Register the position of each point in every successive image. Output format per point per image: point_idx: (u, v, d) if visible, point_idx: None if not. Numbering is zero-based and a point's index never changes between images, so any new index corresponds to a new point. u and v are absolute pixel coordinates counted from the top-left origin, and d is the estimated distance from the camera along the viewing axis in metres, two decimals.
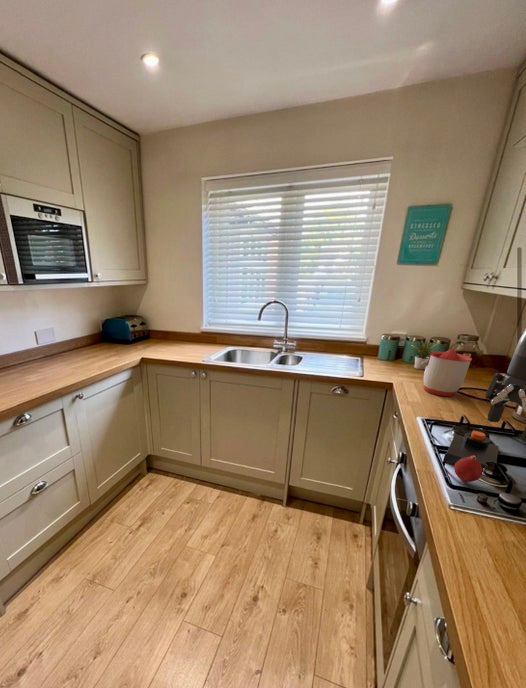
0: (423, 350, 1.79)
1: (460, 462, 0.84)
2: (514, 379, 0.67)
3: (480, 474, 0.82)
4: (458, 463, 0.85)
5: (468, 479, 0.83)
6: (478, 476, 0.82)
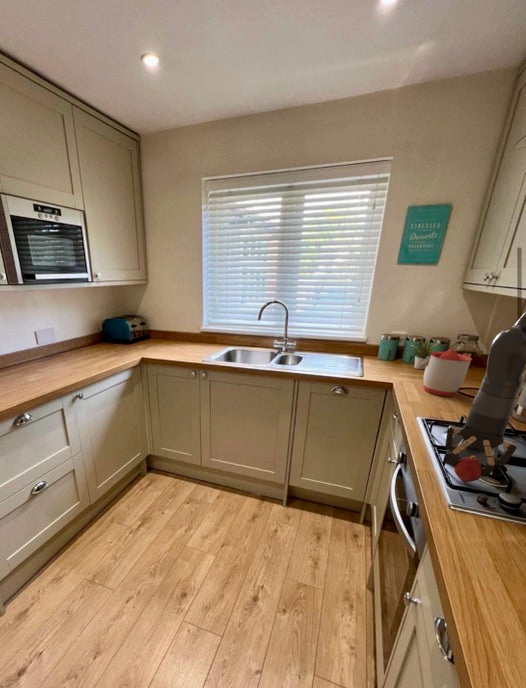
0: (423, 350, 1.79)
1: (460, 462, 0.84)
2: (472, 430, 0.81)
3: (480, 474, 0.82)
4: (458, 463, 0.85)
5: (468, 479, 0.83)
6: (478, 476, 0.82)
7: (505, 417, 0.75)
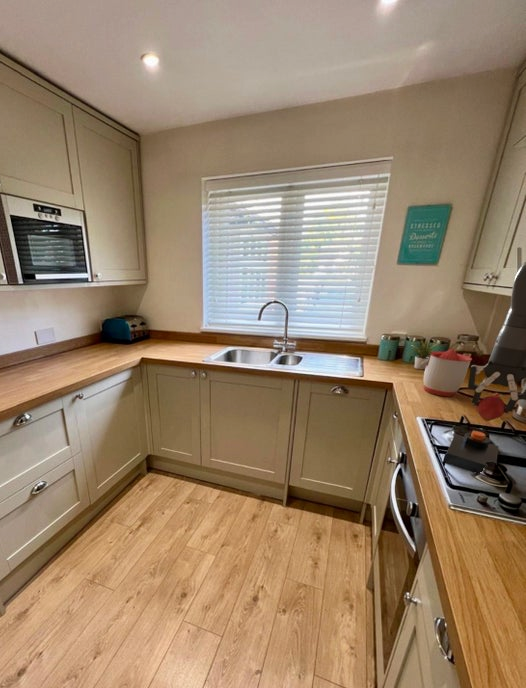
0: (423, 350, 1.79)
1: (483, 400, 0.86)
2: (495, 366, 0.83)
3: (503, 410, 0.84)
4: (481, 401, 0.86)
5: (491, 416, 0.85)
6: (501, 412, 0.84)
7: None
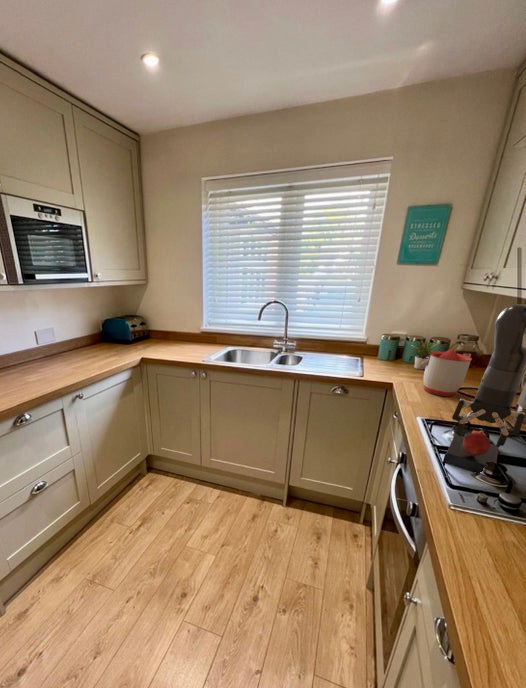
0: (423, 350, 1.79)
1: (469, 437, 0.91)
2: (481, 404, 0.87)
3: (487, 447, 0.88)
4: (467, 438, 0.91)
5: (476, 453, 0.89)
6: (486, 449, 0.88)
7: (513, 389, 0.81)
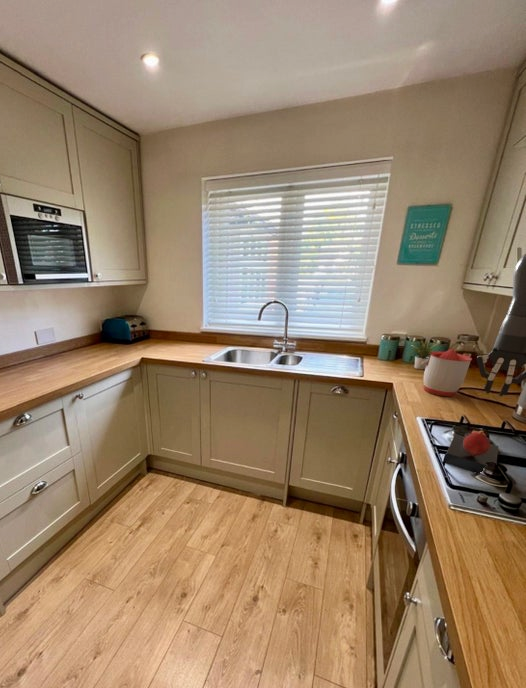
0: (423, 350, 1.79)
1: (469, 437, 0.91)
2: (499, 353, 0.89)
3: (487, 447, 0.88)
4: (467, 438, 0.91)
5: (476, 453, 0.89)
6: (486, 449, 0.88)
7: None
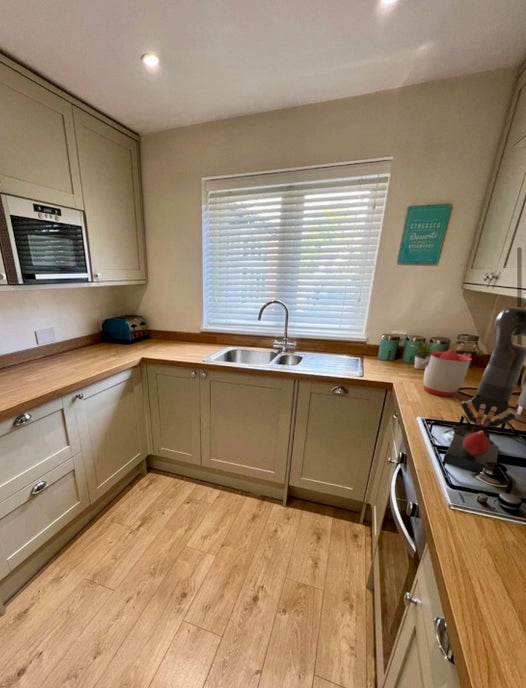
0: (423, 350, 1.79)
1: (469, 437, 0.91)
2: (482, 399, 0.94)
3: (487, 447, 0.88)
4: (467, 438, 0.91)
5: (476, 453, 0.89)
6: (486, 449, 0.88)
7: (511, 385, 0.88)
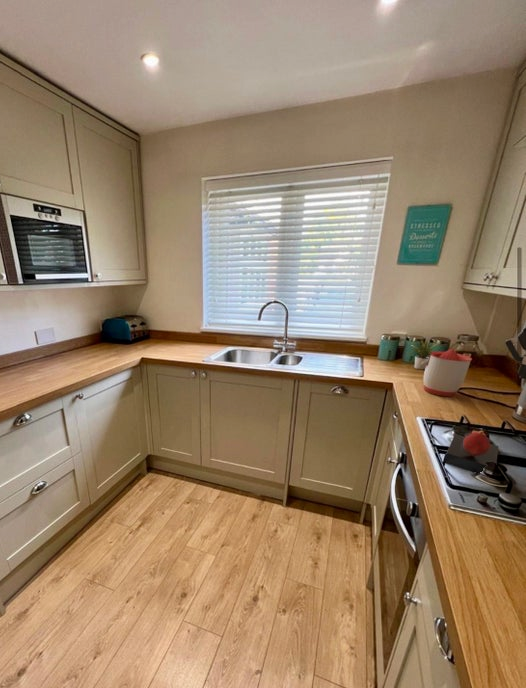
0: (423, 350, 1.79)
1: (469, 437, 0.91)
2: None
3: (487, 447, 0.88)
4: (467, 438, 0.91)
5: (476, 453, 0.89)
6: (486, 449, 0.88)
7: None
